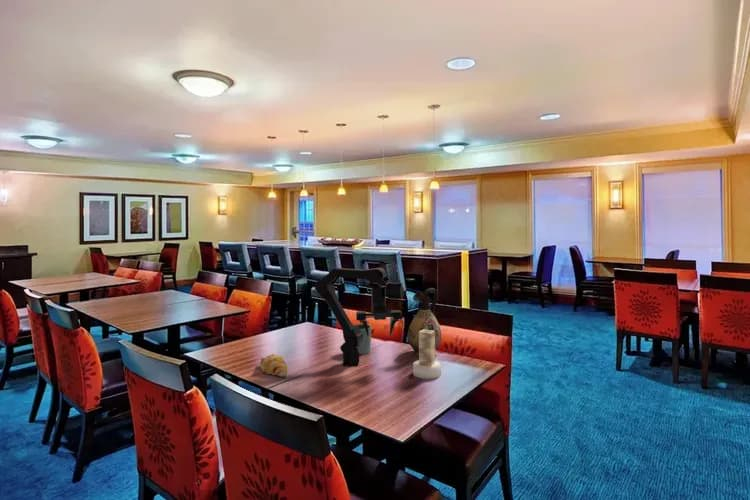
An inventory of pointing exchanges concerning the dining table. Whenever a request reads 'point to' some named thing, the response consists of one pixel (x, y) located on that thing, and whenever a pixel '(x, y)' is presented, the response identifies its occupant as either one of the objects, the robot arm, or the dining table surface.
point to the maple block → (427, 347)
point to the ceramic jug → (424, 320)
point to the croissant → (274, 365)
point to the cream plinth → (427, 370)
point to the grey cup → (365, 340)
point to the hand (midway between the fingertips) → (379, 335)
